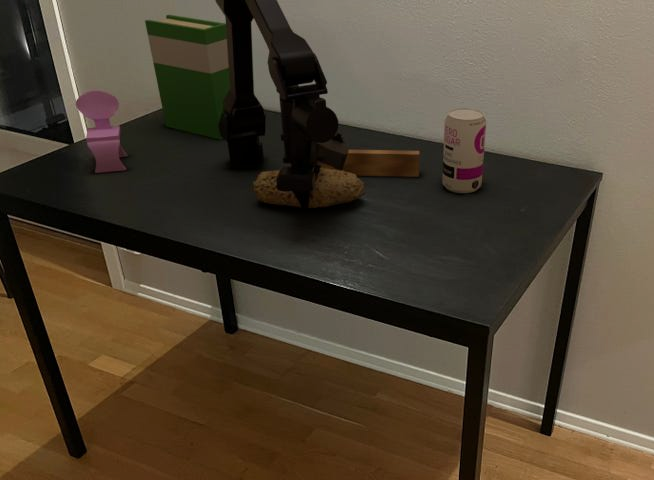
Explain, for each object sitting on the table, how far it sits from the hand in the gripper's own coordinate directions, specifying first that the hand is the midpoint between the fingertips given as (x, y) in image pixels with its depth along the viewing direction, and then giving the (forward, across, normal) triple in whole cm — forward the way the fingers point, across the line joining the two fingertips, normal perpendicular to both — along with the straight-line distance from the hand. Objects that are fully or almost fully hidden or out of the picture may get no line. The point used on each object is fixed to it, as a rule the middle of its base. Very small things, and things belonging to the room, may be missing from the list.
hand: (305, 207), depth 133 cm
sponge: (+3, +7, 0) cm, 8 cm away
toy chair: (+3, +25, +46) cm, 52 cm away
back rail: (+2, +22, -8) cm, 24 cm away
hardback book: (+3, +49, +32) cm, 58 cm away
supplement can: (+3, +17, -30) cm, 35 cm away
